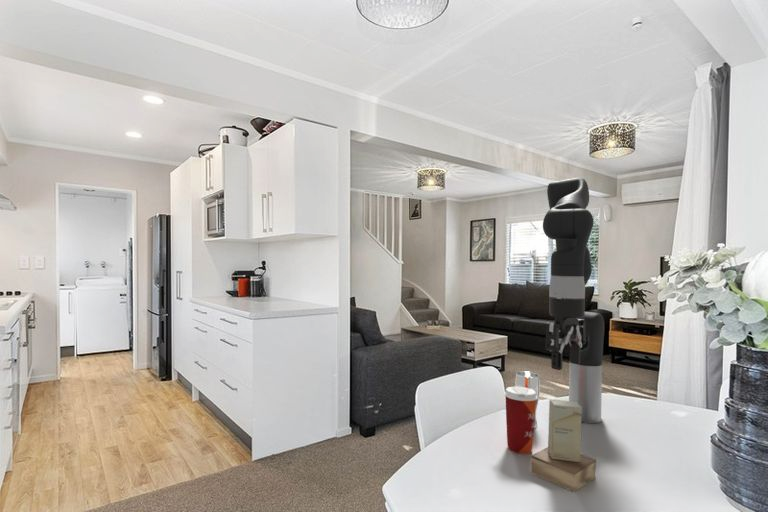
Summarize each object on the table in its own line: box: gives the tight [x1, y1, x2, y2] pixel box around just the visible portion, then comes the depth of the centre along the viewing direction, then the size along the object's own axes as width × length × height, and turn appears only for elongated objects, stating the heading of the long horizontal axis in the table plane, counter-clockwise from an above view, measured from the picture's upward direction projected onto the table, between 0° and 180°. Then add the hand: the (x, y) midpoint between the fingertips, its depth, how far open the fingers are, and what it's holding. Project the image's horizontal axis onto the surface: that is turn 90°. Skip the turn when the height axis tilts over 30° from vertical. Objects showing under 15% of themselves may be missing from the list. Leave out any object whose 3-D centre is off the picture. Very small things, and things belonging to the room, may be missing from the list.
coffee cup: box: [503, 386, 538, 455], centre depth 110 cm, size 8×8×15 cm
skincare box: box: [547, 398, 582, 462], centre depth 96 cm, size 6×4×12 cm
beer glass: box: [514, 370, 541, 429], centre depth 126 cm, size 7×7×15 cm
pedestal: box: [530, 446, 597, 493], centre depth 96 cm, size 10×10×4 cm
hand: (566, 366), depth 98 cm, fingers open, 8 cm apart
